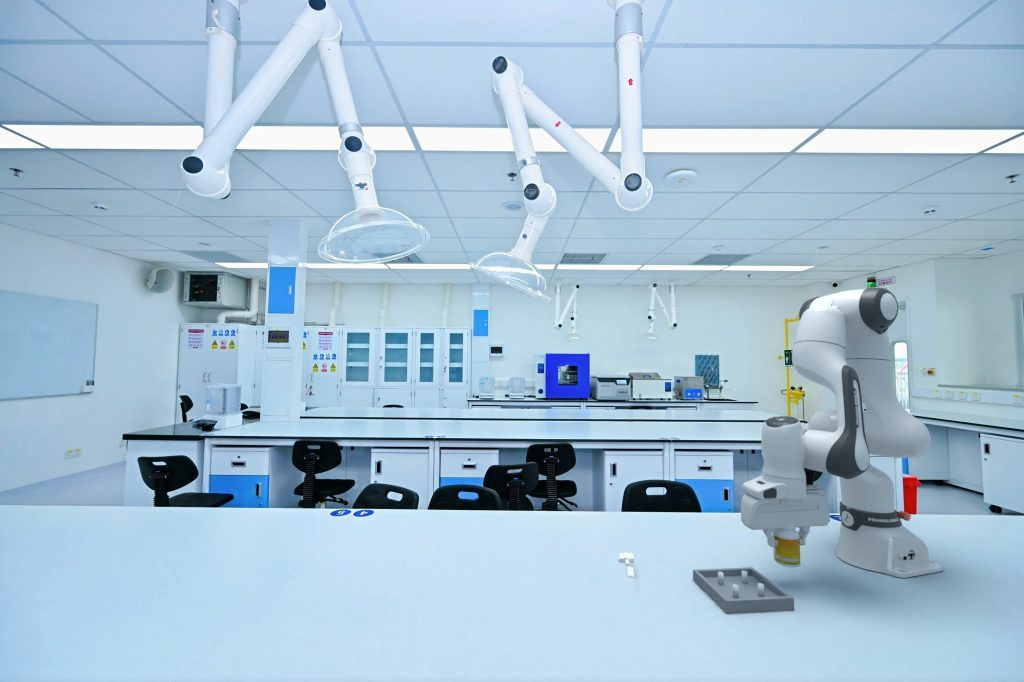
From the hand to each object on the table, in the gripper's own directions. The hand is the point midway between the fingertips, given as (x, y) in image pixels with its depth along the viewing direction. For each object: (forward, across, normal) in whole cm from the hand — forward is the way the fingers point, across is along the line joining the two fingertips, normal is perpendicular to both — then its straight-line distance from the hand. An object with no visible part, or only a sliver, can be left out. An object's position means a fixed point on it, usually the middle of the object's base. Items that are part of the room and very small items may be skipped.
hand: (786, 545), depth 104 cm
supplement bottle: (+4, 0, 0) cm, 4 cm away
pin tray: (+9, +14, +3) cm, 17 cm away
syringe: (+9, +35, -9) cm, 37 cm away
